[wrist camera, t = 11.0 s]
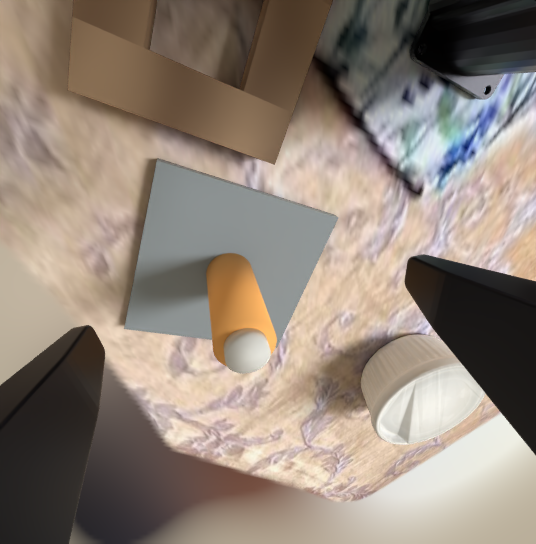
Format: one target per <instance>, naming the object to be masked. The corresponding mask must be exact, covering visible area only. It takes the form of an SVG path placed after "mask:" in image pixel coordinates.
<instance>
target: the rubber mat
mask: <svg viewBox="0 0 536 544" xmlns="http://www.w3.org/2000/svg"><path fill="white" fill-rule="evenodd" d="M337 220H338V217H337V216H336V215H334V214H330V213H327V212H324V211H321V210H318V209H315V208H312V207H308V206H305V205H302V204H299V203H296V202H293V201H290V200H287V199H283V198H280V197H277V196H274V195H271V194H268V193H265V192H261V191H258V190H255V189H252V188H249V187H246V186H243V185H240V184H236V183H233V182H230V181H227V180H224V179H221V178H218V177H215V176H211V175H208V174H205V173H202V172H199V171H196V170H193V169H189V168H186V167H183V166H180V165H177V164H174V163H171V162H168V161H164V160H161V159H157V163H156V168H155V173H154V178H153V183H152V188H151V194H150V199H149V204H148V209H147V214H146V219H145V224H144V230H143V235H142V240H141V245H140V250H139V255H138V260H137V266H136V271H135V276H134V281H133V286H132V291H131V297H130V302H129V307H128V312H127V317H126V322H125V327H124V329H129V330H138V331H146V332H154V333H162V334H170V335H178V336H186V337H194V338H202V339H211V340H212V331H211V321H210V310H209V300H208V289H207V278H206V271H207V268H208V265H209V264H210V262H211V261H212V260H213V259H214V258H216V257H217V256H219V255H222V254H226V253H235V254H239V255H241V256H243V257H245V258H246V259H247V260H248V261H249V263H250V265H251V267H252V270H253V273H254V275H255V278H256V281H257V284H258V286H259V289H260V292H261V295H262V297H263V300H264V303H265V306H266V309H267V311H268V314H269V317H270V320H271V322H272V325H273V328H274V331H275V333H276V337H277V343H276V348H277V346H278V344H279V342H280V340H281V338H282V336H283V334H284V331H285V329H286V327H287V325H288V323H289V321H290V319H291V317H292V315H293V313H294V310H295V308H296V306H297V304H298V302H299V300H300V298H301V296H302V294H303V291H304V289H305V287H306V285H307V283H308V281H309V279H310V277H311V275H312V272H313V270H314V268H315V266H316V264H317V262H318V260H319V258H320V256H321V253H322V251H323V249H324V247H325V245H326V243H327V241H328V239H329V237H330V234H331V232H332V230H333V228H334V226H335V224H336V222H337Z"/></svg>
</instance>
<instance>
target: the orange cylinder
mask: <svg viewBox="0 0 536 544" xmlns="http://www.w3.org/2000/svg"><path fill="white" fill-rule="evenodd" d="M206 278H207V289H208V300H209V310H210V321H211V331H212V342H213V352H214V355H215V357H216V358H217V360H218V361H219V362H220V363H222V364H224V365H225V366H227V367H228V368H229V369H230V370H232V371H234V372H237V373H251V372H254V371H257V370H259V369H261V368H262V367H263V366H264V365H266V363H267V362H268V361H269V359H270V356H271V354H272V352H273V351H274V349H275V347H276V343H277V337H276V333H275V331H274V328H273V325H272V322H271V320H270V317H269V314H268V311H267V309H266V306H265V303H264V300H263V297H262V295H261V292H260V289H259V286H258V284H257V281H256V278H255V275H254V273H253V270H252V267H251V265H250V263H249V261H248V260H247V259H246V258H245V257H243V256H241V255H239V254H235V253H226V254H222V255H219V256H217V257H216V258H214V259H213V260H212V261H211V262H210V264H209V265H208V268H207V271H206Z"/></svg>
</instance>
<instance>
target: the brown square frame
mask: <svg viewBox="0 0 536 544" xmlns="http://www.w3.org/2000/svg"><path fill="white" fill-rule="evenodd" d="M332 1H333V0H264V1H263V5H262V8H261V12H260V16H259V19H258V23H257V26H256V30H255V34H254V37H253V41H252V44H251V48H250V52H249V55H248V59H247V62H246V66H245V70H244V73H243V77H242V80H241V84H240V88H239V89H237V88H235V87H232V86H230V85H228V84H226V83H223V82H221V81H219V80H216V79H214V78H212V77H210V76H207V75H205V74H203V73H200V72H198V71H196V70H193V69H191V68H189V67H187V66H184V65H182V64H180V63H177V62H175V61H173V60H171V59H168V58H166V57H164V56H161V55H159V54H157V53H155V52H152V51H150V43H151V37H152V31H153V25H154V18H155V12H156V6H157V0H73V14H72V29H71V44H70V59H69V73H68V88H67V90H68V91H71V92H74V93H77V94H80V95H82V96H85V97H88V98H91V99H93V100H96V101H99V102H102V103H105V104H107V105H110V106H113V107H116V108H119V109H121V110H124V111H127V112H130V113H132V114H135V115H138V116H141V117H144V118H146V119H149V120H152V121H155V122H157V123H160V124H163V125H166V126H169V127H171V128H174V129H177V130H180V131H182V132H185V133H188V134H191V135H194V136H196V137H199V138H202V139H205V140H208V141H210V142H213V143H216V144H219V145H221V146H224V147H227V148H230V149H233V150H235V151H238V152H241V153H244V154H246V155H249V156H252V157H255V158H258V159H260V160H263V161H266V162H269V163H271V164H274V165H275V162H276V159H277V157H278V154H279V151H280V148H281V145H282V143H283V140H284V137H285V134H286V131H287V128H288V126H289V123H290V120H291V117H292V114H293V111H294V109H295V106H296V103H297V100H298V97H299V95H300V92H301V89H302V86H303V83H304V80H305V78H306V75H307V72H308V69H309V66H310V64H311V61H312V58H313V55H314V52H315V49H316V47H317V44H318V41H319V38H320V35H321V32H322V30H323V27H324V24H325V21H326V18H327V16H328V13H329V10H330V7H331V4H332Z"/></svg>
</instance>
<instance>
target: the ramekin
mask: <svg viewBox="0 0 536 544" xmlns="http://www.w3.org/2000/svg"><path fill="white" fill-rule="evenodd" d="M361 389H362V393H363V395H364V398H365V401H366V404H367V407H368V409H369V412H370V415H371V423H372V426H373V428H374V430H375V432H376V433H377V435H378V436H379V437H380V438H381V439H383V440H384V441H386V442H389V443H392V444H400V445H405V444H414V443H419V442H423V441H426V440H429V439H432V438H434V437H436V436H438V435H441V434H443V433H444V432H446V431H448V430H450V429H451V428H453V427H455V426H456V425H457V424H459V423H460V422H462V421H463V420H464V419H465V418H466V417H468V416H469V415H470V414H471V413H472V412H473V411H474V410H475V409H476V408H477V406H478V405H479V404H480V402H481V401H482V399H483V397H484V395H485V392H484V391H483V390H482V388H481V387H480V386H479V385H478V384H477V382H476V381H475V380H474V379H473V377H472V376H471V375H470V374H469V372H468V371H467V370H466V369H465V368H464V366H463V365H462V364H461V363H460V361H459V360H458V359H457V358H456V356H455V355H454V354H453V353H452V352H451V350H450V349H449V348H448V347H447V345H446V344H445V343H444V342H443V341H441V340H440V339H438V338H436V337H433V336H429V335H420V334H415V335H407V336H404V337H400V338H398V339H395V340H393V341H391V342H389V343H388V344H386V345H385V346H383V347H382V348H380V349H379V350H378V351H377V352H376V353H375V354H374V355H373V356H372V357H371V358H370V359H369V361H368V362H367V364H366V365H365V367H364V370H363V373H362V377H361Z"/></svg>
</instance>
